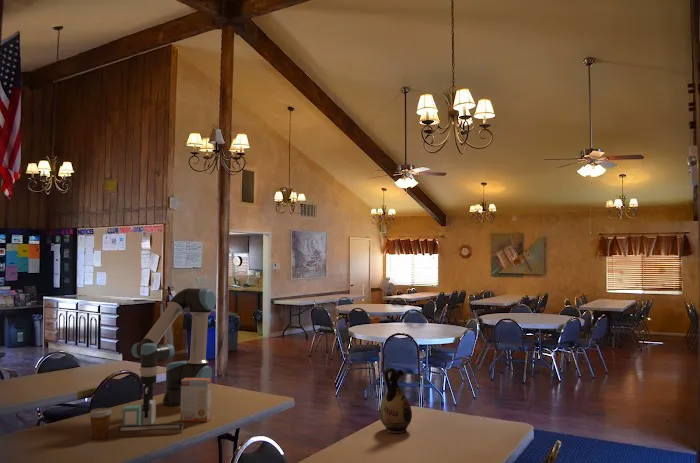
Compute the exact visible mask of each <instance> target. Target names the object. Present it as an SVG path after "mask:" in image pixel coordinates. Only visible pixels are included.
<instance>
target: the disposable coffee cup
mask: <svg viewBox="0 0 700 463" xmlns="http://www.w3.org/2000/svg"><path fill="white" fill-rule="evenodd" d="M89 411H90V412H89V414H88V415H89V417H90V427H91V435H92V437H91V438H92V439H94V440H101V439H106V438H107V437H108V435H109V428H110V422H111V417H112V416H111V415H112V414H113V411H112V409H111V408H109V407H99V408H93V409H91V410H89Z"/></svg>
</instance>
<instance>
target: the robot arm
mask: <svg viewBox="0 0 700 463" xmlns="http://www.w3.org/2000/svg"><path fill="white" fill-rule="evenodd" d="M215 294H216V293H214V291H213V290H211V289H209V288H195V287H194V288H193V287H192V288H190V287H189V288H188V287H187V288H184V289H181V291H178V292H177V293H176V294H175V295H174V296H173V297H172V298H171V299H170V300H169V301H168V303H167V307H166V309H165V310H164V311H163V312H162V314H161V315H160V316H159V317H158V319H157V321H155V323H154V324H153V326H152V327H151V328H150V330H149V331H148V332H147V334H146V335H145V336H144V337H143V339H142V340H141V341H140V342H136V343H134V344H133V345H132V347H131V351H130V352H131V354H132V356H133V357H134V358H138V359H140V368H139V372H140V380H139V381H140V382H139V383H140V384H141V385H144V387H143V400H142V402H143V410H142V411H144V412H143V424H149V415H150V410H149V404H150V400H154V384H156V383H157V373H158V372H157V370H158V369H157V367H158V366H157V363H158V362H159V361H164V360H169V359H171V358H173V356H174V355H175V352H176V351H175V347H174V346H173V344H171V343H165V344H159V343H160V341H161V340H162V339H163V337H164V336H165V334H166V333H167V331H168V330H169V329H170V327H172V325H173V323H175V321H176V319H177V318H178V317H179V315H182V314H183V313H184V312H185V311H186V310H189V313H190V315H191V316H192V317H191V333H190V348H189V350H190V351H189V360H180V361H179V360H178V361H173V362H170V363H167V365H166V370H165V392H164V395H163V398H162V401H161V402H162V406H165V407H181V380H182V379H184V378H211V379H212V377H213V369H212V367H211V366H209V361H208V360H207V358H206V357H207V344H208V343H207V342H208V323H209V316H210V314H211V313H212V310H214V308H215V307H216V304H217V296H216V295H215Z"/></svg>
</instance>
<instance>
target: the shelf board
mask: <svg viewBox="0 0 700 463" xmlns="http://www.w3.org/2000/svg"><path fill="white" fill-rule="evenodd" d="M184 426H185V423H184V422H169V423H168V422H167V423H153V424H146V425H132V426H123V425H119V426H118V432H117V436H118V437H132V436H133V435H136V436H149V435H153V436H154V435H167V434H182V433H183V430H184Z"/></svg>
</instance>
